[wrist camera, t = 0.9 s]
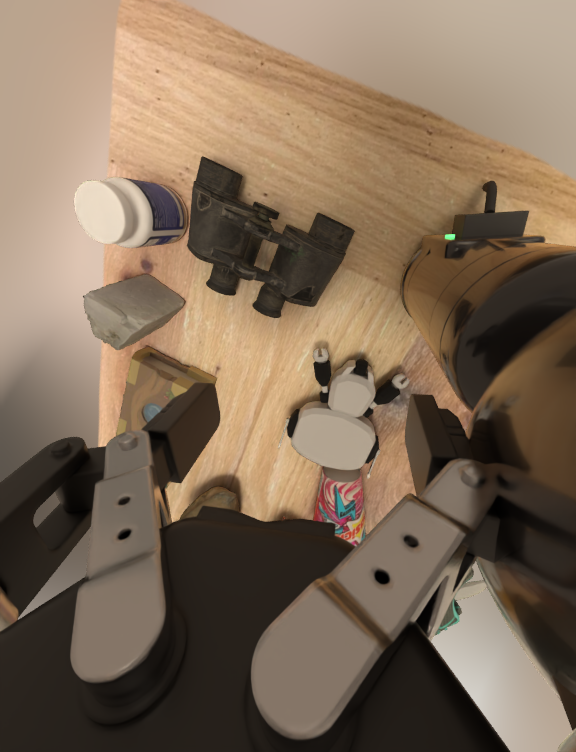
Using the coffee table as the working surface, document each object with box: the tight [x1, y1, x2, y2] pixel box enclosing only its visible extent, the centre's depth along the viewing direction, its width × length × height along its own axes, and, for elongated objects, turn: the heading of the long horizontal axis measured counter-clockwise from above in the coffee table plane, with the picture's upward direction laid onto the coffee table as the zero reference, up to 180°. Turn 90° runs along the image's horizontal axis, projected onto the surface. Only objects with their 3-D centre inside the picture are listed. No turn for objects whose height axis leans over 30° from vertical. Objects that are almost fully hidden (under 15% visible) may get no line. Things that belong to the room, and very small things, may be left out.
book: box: [116, 347, 217, 436], centre depth 43 cm, size 15×11×5 cm
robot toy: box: [278, 348, 409, 479], centre depth 38 cm, size 12×4×15 cm
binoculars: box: [187, 157, 355, 318], centre depth 31 cm, size 11×16×6 cm
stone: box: [180, 487, 239, 520], centre depth 50 cm, size 17×9×8 cm, turn 157°
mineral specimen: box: [83, 274, 185, 350], centre depth 36 cm, size 7×9×8 cm
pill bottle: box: [74, 177, 187, 248], centre depth 30 cm, size 6×6×10 cm
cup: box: [313, 466, 366, 546], centre depth 43 cm, size 9×8×12 cm
